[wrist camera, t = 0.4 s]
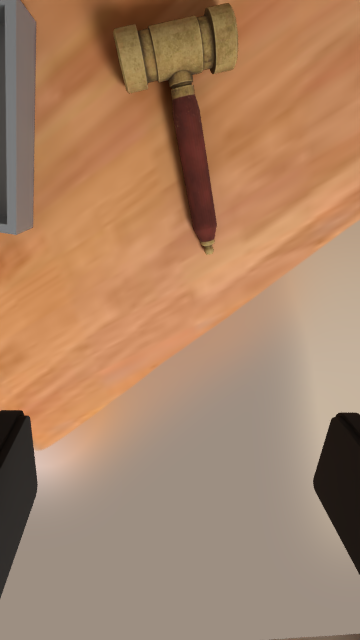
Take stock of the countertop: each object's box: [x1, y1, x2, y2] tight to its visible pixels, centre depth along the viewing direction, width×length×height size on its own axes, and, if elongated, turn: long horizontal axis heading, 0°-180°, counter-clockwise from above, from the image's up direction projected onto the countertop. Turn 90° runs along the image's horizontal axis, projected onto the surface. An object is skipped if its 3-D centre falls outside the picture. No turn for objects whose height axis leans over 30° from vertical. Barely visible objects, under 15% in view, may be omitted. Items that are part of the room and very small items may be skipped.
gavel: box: [113, 3, 238, 255], centre depth 34 cm, size 21×5×10 cm
